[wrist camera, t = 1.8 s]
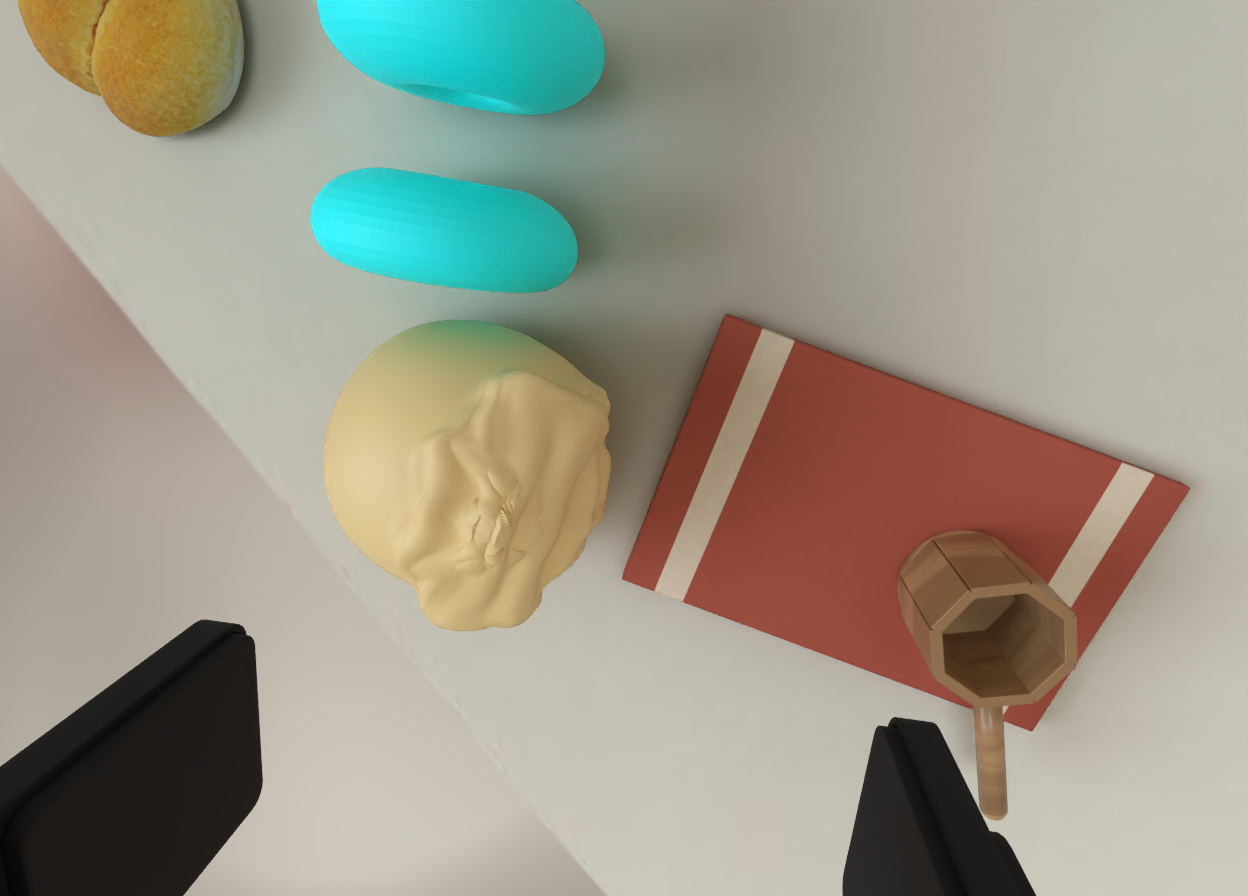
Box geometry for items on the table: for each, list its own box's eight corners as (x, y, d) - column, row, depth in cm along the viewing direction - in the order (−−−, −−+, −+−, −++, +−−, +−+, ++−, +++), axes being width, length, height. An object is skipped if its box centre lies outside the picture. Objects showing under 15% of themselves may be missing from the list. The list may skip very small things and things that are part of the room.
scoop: (892, 537, 34) (926, 593, 29) (1018, 522, 33) (1076, 576, 28) (913, 772, 38) (947, 860, 32) (1028, 764, 37) (1081, 852, 31)
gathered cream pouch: (577, 572, 37) (529, 702, 27) (361, 485, 37) (230, 583, 27) (661, 369, 34) (642, 430, 23) (422, 273, 34) (298, 291, 23)
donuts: (379, 250, 34) (250, 258, 24) (393, 9, 31) (252, -92, 21) (589, 287, 33) (542, 310, 23) (624, 45, 30) (587, -42, 20)
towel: (725, 313, 33) (725, 315, 32) (1180, 481, 33) (1192, 488, 32) (623, 572, 37) (621, 579, 36) (1025, 722, 37) (1032, 732, 36)
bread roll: (205, 173, 33) (140, 166, 30) (39, 42, 32) (-50, 17, 29) (291, 11, 31) (233, -19, 27) (114, -135, 30) (29, -188, 26)
